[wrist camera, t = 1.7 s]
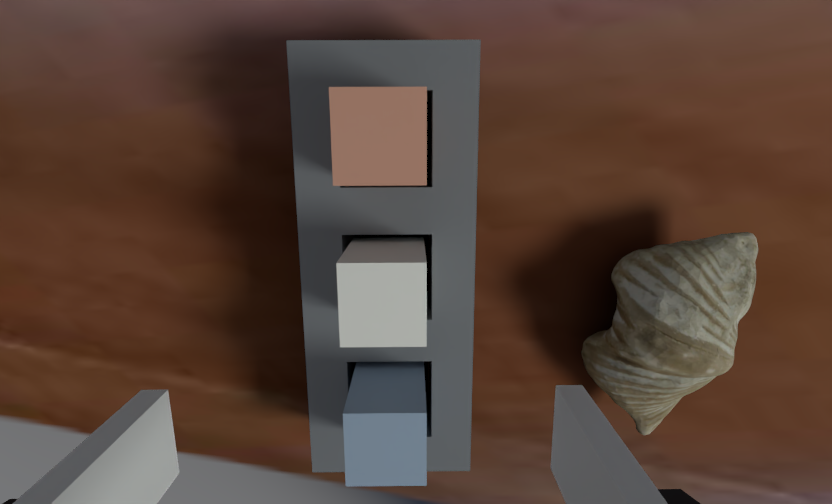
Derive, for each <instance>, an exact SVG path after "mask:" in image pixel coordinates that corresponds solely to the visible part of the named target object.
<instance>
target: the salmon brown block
mask: <svg viewBox="0 0 832 504" xmlns="http://www.w3.org/2000/svg"><path fill="white" fill-rule="evenodd" d="M329 104H330V128H331V151H332V174H333V186H403V185H427V87H329Z"/></svg>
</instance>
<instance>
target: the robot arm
mask: <svg viewBox="0 0 832 504" xmlns="http://www.w3.org/2000/svg"><path fill="white" fill-rule="evenodd" d="M551 470H552V472H553V475H554V477H555V479H556V482H557V484H558V486H559V489H560V491H561V493H562V495H563V498H564V500H565V502H566V504H700V503H699V502H697V501H696V500H695V499H693V498H692V497H691V496H689V495H688V494H687V493H685V492H684V491H682V490H681V489H657V488H656V487H655V485H654V484H653V482H652V481H651V480H650V478H649V477H648V476H647V474H646V473H645V471H644V470H643V469H642V467H641V466H640V464H639V463H638V462H637V460H636V459H635V458H634V456H633V455H632V453H631V452H630V451H629V449H628V448H627V446H626V445H625V444H624V442H623V441H622V440H621V438H620V437H619V435H618V434H617V433H616V431H615V430H614V428H613V427H612V426H611V424H610V423H609V422H608V420H607V419H606V417H605V416H604V415H603V413H602V412H601V410H600V409H599V408H598V406H597V405H596V404H595V402H594V401H593V399H592V398H591V397H590V395H589V394H588V392H587V391H586V390H585V388H584V387H583V386H582V385H556V391H555V407H554V423H553V439H552V455H551ZM178 474H179V466H178V459H177V452H176V444H175V437H174V430H173V423H172V415H171V408H170V401H169V394H168V390H141V391H140V392H139V393H138V394H136V395H135V396H134V397H133V398H132V399H131V400H130V401H128V402H127V403H126V404H125V405H124V406H123V407H122V408H121V409H119V410H118V411H117V412H116V413H115V414H114V415H113V416H111V417H110V418H109V419H108V420H107V421H106V422H105V423H104V424H102V425H101V426H100V427H99V428H98V429H97V430H96V431H94V432H93V433H92V434H91V435H90V436H89V437H88V438H86V439H85V440H84V441H83V442H82V443H81V444H80V445H79V446H78V447H76V448H75V449H74V450H73V451H72V452H71V453H69V454H68V455H67V456H66V457H65V458H64V459H63V460H62V461H60V462H59V463H58V464H57V465H56V466H55V467H54V468H52V469H51V470H50V471H49V472H48V473H47V474H46V475H45V476H43V477H42V478H41V479H40V480H39V481H38V482H37V483H36V484H34V485H33V486H32V487H31V488H30V489H29V490H27V491H26V492H25V493H24V494H23V495H22V496H21V497H20V498H18V499H9V500H8V501H6V502H4V503H3V504H157V503H158V501H159V500H160V499H161V497H162V496H163V495H164V493H165V492H166V491H167V489H168V488H169V486H170V485H171V484H172V482H173V481H174V479H175V478H176V477H177V475H178Z"/></svg>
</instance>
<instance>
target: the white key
mask: <svg viewBox="0 0 832 504" xmlns="http://www.w3.org/2000/svg"><path fill="white" fill-rule="evenodd" d="M336 268H337V291H338V315H339V338H340V347H427V261H426V253H425V245H424V237H393V238H353V239H352V241H351V242H350V244H349V245H348V247H347V248H346V250H345V251H344V253H343V254H342V256H341V257H340V258H339V260H338V261H337V263H336Z"/></svg>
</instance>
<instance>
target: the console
mask: <svg viewBox="0 0 832 504" xmlns="http://www.w3.org/2000/svg"><path fill="white" fill-rule="evenodd" d="M286 42H287V59H288V75H289V92H290V108H291V125H292V141H293V158H294V174H295V191H296V207H297V224H298V241H299V257H300V274H301V290H302V307H303V323H304V340H305V356H306V373H307V389H308V406H309V423H310V439H311V456H312V472H345V455H344V431H343V411H344V407H345V403H346V400H347V396H348V392H349V388H350V385H351V381H352V377H353V373H354V370H355V366H356V362H400V361H429V392H426V411H427V471H470V452H471V411H472V370H473V329H474V287H475V246H476V205H477V164H478V123H479V82H480V40H286ZM329 87H427V101H429V181H427V185H403V186H333V174H332V151H331V128H330V104H329ZM413 234H429V292H427V347H340V338H339V315H338V291H337V268H336V263H337V261H338V260H339V258H340V257H341V256H342V254H343V253H344V251H345V250H346V248H347V247H348V245H349V244H350V242H351V241H352V239H353V238H355V236H354V235H413Z"/></svg>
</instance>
